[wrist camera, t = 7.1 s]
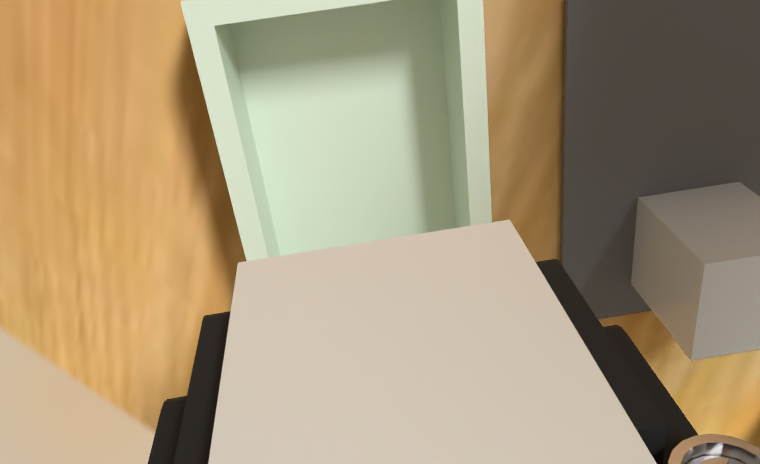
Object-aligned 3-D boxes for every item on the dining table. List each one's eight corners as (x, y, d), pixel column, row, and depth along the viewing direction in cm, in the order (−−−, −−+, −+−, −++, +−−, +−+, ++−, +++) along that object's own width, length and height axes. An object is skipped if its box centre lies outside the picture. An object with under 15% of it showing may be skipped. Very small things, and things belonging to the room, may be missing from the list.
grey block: (739, 181, 29) (825, 245, 24) (725, 268, 31) (801, 342, 27) (637, 197, 29) (704, 264, 24) (630, 283, 31) (691, 360, 26)
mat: (827, -42, 25) (832, -41, 25) (762, 288, 33) (765, 291, 32) (565, -4, 25) (568, -3, 25) (559, 321, 32) (561, 325, 32)
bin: (454, -56, 24) (481, -41, 20) (474, 287, 31) (496, 342, 27) (198, -20, 23) (180, 1, 20) (278, 318, 30) (276, 377, 27)
